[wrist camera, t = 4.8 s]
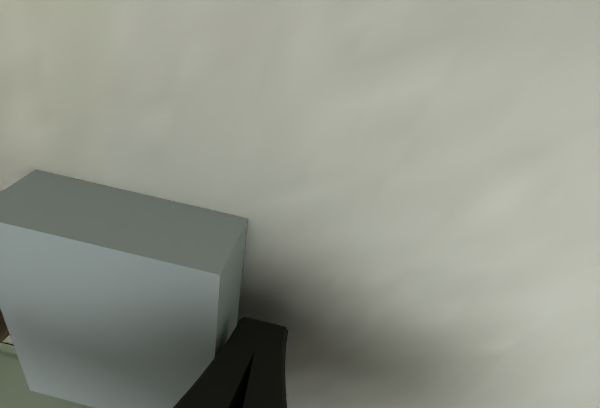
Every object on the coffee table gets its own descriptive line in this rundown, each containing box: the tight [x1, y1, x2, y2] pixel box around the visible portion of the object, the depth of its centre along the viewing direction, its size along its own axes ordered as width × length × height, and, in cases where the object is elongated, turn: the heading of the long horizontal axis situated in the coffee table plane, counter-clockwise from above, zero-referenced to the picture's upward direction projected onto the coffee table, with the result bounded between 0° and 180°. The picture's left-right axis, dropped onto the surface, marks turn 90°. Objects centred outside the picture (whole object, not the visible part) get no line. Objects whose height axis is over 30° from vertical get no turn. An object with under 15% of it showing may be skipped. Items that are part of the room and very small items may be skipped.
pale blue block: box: [0, 170, 248, 408], centre depth 12 cm, size 6×7×2 cm
